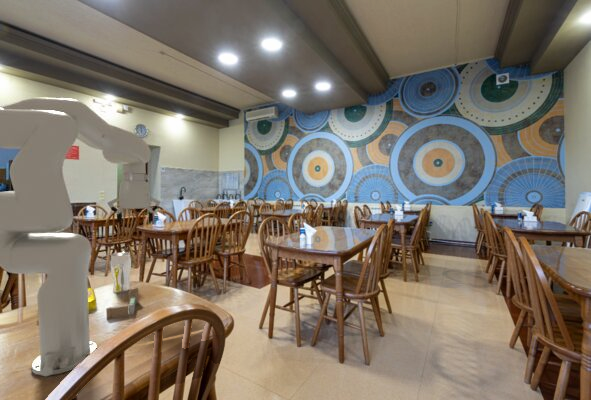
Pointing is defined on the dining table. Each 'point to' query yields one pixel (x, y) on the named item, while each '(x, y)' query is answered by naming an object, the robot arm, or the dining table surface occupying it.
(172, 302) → the dining table surface
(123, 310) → the flat brown box
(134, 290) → the hinged panel
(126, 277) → the beer glass
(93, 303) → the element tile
